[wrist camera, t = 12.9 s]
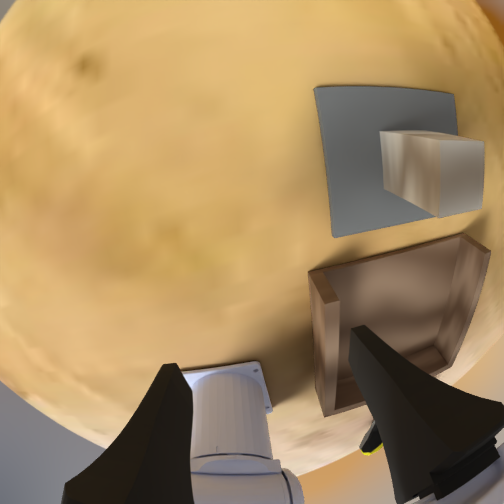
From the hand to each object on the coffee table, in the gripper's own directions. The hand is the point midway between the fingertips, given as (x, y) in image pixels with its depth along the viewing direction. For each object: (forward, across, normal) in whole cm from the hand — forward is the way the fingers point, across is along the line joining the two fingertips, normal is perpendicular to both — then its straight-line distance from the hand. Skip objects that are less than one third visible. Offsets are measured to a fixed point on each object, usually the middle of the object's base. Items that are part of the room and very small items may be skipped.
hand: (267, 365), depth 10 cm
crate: (+9, -12, +9) cm, 18 cm away
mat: (+9, -12, -6) cm, 16 cm away
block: (+9, -12, -5) cm, 16 cm away
